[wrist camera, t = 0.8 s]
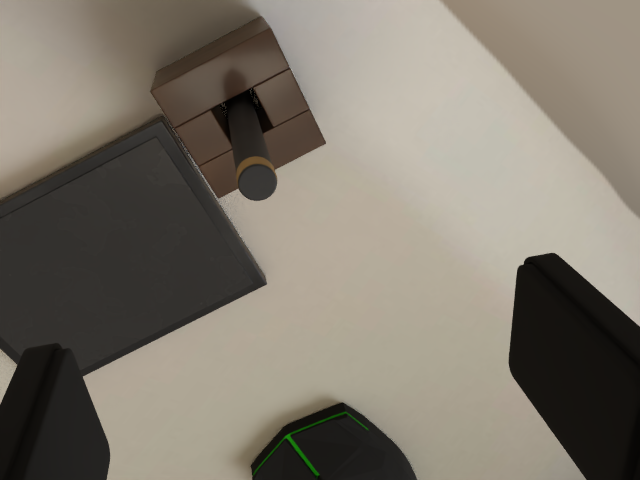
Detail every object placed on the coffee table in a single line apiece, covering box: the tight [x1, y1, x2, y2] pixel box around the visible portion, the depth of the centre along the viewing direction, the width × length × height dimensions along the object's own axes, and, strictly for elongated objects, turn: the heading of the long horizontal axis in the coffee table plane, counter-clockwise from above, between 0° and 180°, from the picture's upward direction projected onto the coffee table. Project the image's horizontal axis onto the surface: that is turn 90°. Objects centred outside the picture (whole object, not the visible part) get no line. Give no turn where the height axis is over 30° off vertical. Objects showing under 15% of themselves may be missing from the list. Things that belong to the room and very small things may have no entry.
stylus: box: [225, 90, 277, 201], centre depth 25 cm, size 1×1×12 cm
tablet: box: [0, 116, 267, 377], centre depth 33 cm, size 12×16×1 cm
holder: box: [151, 16, 326, 198], centre depth 29 cm, size 6×6×4 cm
